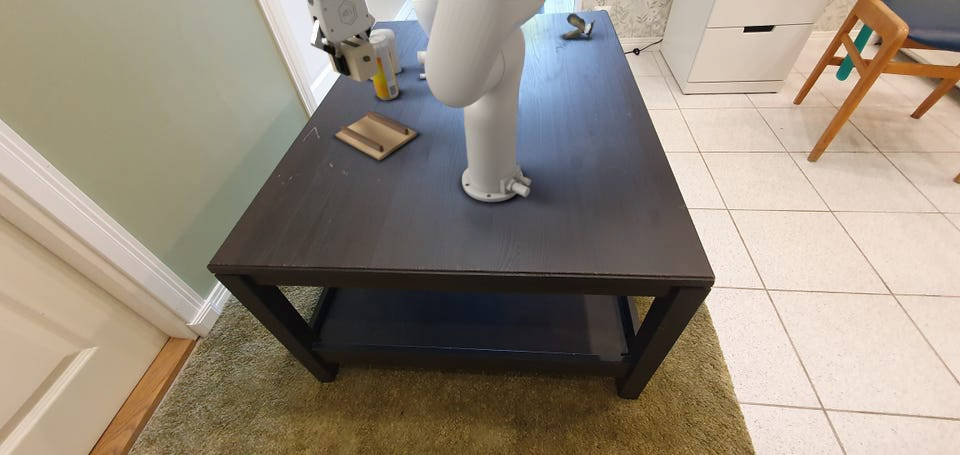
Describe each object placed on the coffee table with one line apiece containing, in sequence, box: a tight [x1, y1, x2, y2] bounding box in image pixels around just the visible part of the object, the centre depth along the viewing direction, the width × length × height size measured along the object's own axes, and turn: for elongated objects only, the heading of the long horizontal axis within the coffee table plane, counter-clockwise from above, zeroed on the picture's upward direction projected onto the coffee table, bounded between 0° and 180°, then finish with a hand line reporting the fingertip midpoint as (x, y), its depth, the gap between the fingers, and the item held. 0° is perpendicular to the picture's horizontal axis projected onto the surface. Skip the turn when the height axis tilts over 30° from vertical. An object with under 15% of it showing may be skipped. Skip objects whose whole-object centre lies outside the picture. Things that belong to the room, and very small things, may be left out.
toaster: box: [323, 36, 380, 83], centre depth 76 cm, size 5×10×6 cm, turn 52°
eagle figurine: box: [561, 13, 596, 40], centre depth 120 cm, size 8×7×9 cm
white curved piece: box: [368, 28, 402, 81], centre depth 107 cm, size 10×4×12 cm, turn 124°
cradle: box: [334, 110, 418, 161], centre depth 89 cm, size 12×16×2 cm
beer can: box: [369, 35, 400, 101], centre depth 97 cm, size 6×6×15 cm
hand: (355, 67), depth 78 cm, fingers closed on toaster, 5 cm apart
